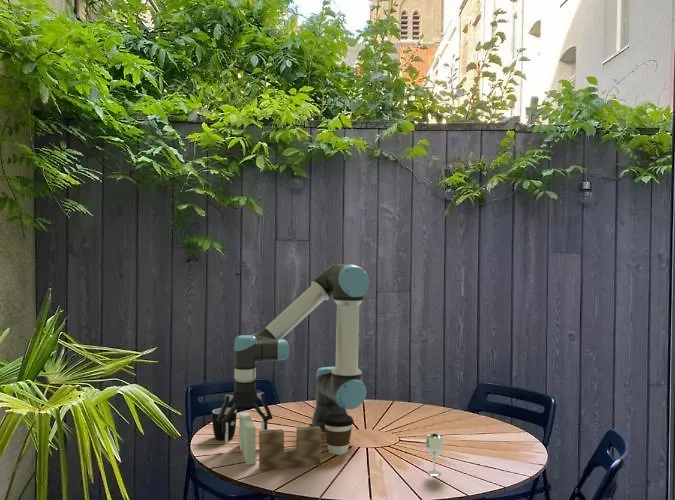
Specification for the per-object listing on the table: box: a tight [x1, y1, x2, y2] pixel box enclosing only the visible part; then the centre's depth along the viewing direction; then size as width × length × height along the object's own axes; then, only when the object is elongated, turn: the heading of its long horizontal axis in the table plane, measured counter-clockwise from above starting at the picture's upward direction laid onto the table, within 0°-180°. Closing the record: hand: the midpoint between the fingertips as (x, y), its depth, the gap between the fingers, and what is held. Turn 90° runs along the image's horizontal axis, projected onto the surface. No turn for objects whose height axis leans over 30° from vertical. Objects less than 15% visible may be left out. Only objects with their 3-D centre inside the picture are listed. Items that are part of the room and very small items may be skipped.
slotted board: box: [258, 426, 322, 472], centre depth 200 cm, size 20×3×12 cm, turn 106°
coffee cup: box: [323, 414, 355, 456], centre depth 214 cm, size 11×11×12 cm
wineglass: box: [424, 433, 445, 477], centre depth 195 cm, size 6×6×12 cm
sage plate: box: [238, 411, 257, 466], centre depth 211 cm, size 3×20×12 cm, turn 16°
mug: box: [211, 407, 238, 441], centre depth 229 cm, size 12×9×10 cm
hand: (244, 440), depth 216 cm, fingers open, 12 cm apart
